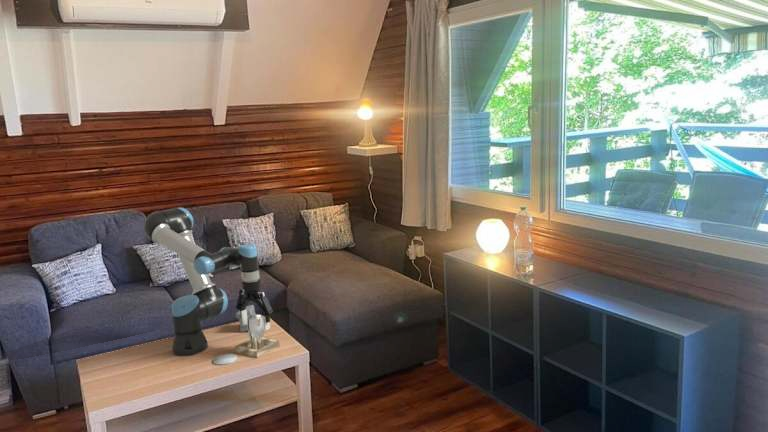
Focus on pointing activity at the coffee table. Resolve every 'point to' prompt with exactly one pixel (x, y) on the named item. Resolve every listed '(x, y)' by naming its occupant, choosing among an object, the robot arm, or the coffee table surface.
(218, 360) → the white glossy dome
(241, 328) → the incense holder
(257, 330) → the silver tall cylindrical piece
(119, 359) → the coffee table surface
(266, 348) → the frame
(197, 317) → the robot arm
